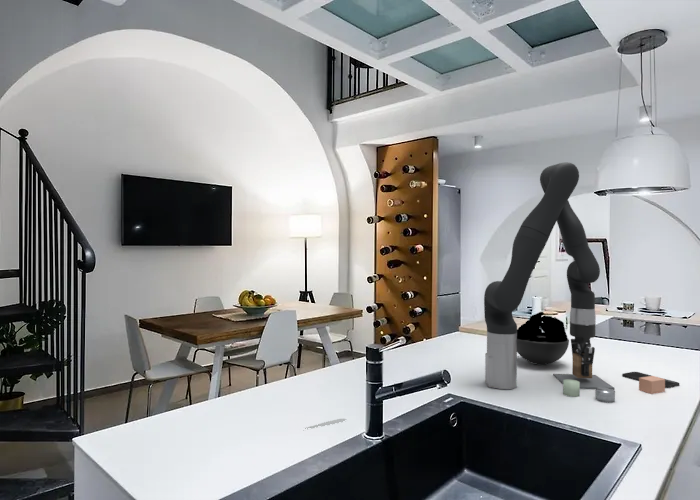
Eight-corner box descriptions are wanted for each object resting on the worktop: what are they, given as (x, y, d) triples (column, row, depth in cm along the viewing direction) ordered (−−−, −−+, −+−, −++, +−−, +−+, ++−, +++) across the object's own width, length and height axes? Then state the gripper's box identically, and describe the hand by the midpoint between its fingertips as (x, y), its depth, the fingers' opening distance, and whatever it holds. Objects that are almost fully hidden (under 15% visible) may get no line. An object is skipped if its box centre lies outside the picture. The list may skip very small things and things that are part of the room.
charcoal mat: (567, 388, 146) (567, 386, 146) (552, 375, 160) (552, 373, 160) (614, 389, 145) (614, 387, 145) (595, 376, 159) (595, 374, 159)
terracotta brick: (651, 394, 141) (651, 381, 141) (638, 390, 144) (639, 377, 144) (664, 392, 143) (665, 379, 143) (652, 388, 147) (652, 375, 147)
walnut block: (577, 377, 150) (577, 356, 150) (572, 373, 155) (572, 353, 155) (592, 378, 150) (592, 356, 150) (586, 374, 154) (586, 353, 154)
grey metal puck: (599, 403, 133) (599, 392, 133) (592, 397, 138) (592, 387, 138) (618, 403, 133) (618, 393, 133) (610, 397, 138) (610, 387, 138)
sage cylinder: (566, 396, 138) (566, 383, 138) (561, 392, 143) (561, 379, 143) (581, 397, 138) (581, 383, 138) (576, 392, 142) (576, 379, 142)
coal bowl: (552, 374, 161) (552, 320, 161) (500, 362, 176) (501, 313, 176) (578, 364, 174) (579, 314, 173) (528, 354, 189) (529, 308, 189)
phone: (635, 371, 163) (681, 383, 149) (635, 374, 163) (681, 386, 149) (620, 374, 159) (665, 386, 146) (620, 377, 159) (665, 389, 146)
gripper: (562, 317, 160) (562, 367, 160) (579, 325, 145) (578, 379, 146) (585, 318, 159) (585, 368, 159) (604, 325, 145) (603, 380, 145)
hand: (582, 373), depth 152 cm, fingers closed on walnut block, 4 cm apart
